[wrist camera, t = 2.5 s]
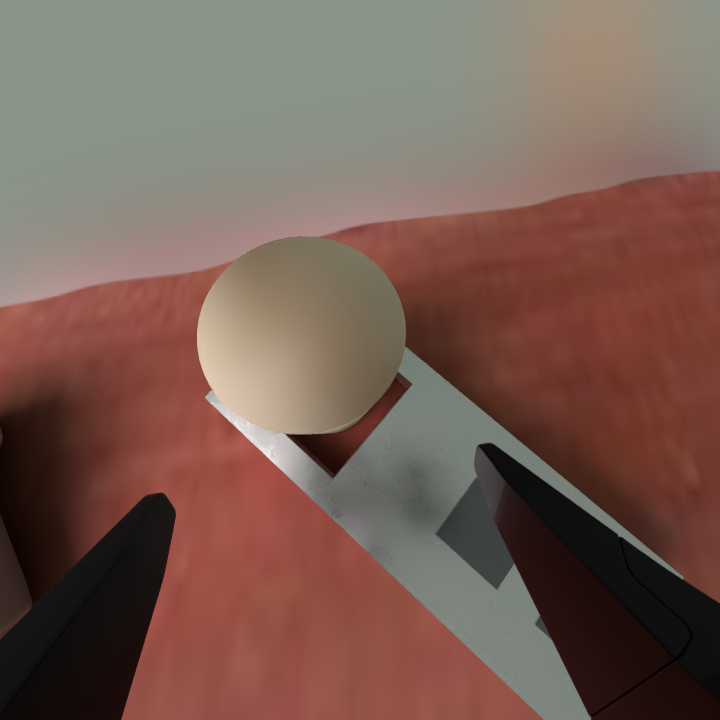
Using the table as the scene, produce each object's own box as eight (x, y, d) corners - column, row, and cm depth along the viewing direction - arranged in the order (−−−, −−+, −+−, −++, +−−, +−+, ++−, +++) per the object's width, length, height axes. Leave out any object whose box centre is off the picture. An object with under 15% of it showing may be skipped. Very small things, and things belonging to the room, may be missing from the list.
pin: (333, 450, 19) (307, 483, 7) (275, 397, 20) (152, 336, 7) (384, 390, 20) (446, 320, 8) (327, 341, 21) (299, 202, 8)
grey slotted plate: (560, 723, 17) (589, 763, 15) (218, 400, 20) (203, 397, 18) (648, 562, 19) (686, 578, 17) (325, 292, 22) (323, 277, 20)
